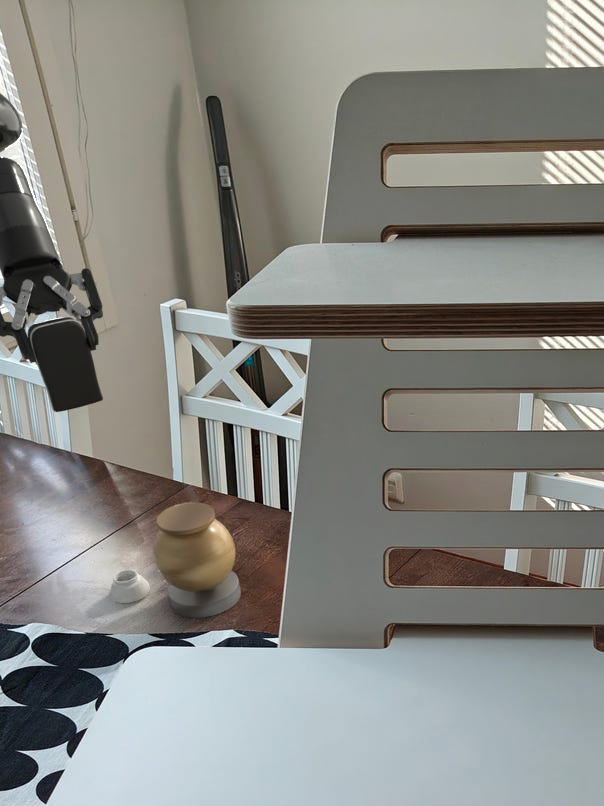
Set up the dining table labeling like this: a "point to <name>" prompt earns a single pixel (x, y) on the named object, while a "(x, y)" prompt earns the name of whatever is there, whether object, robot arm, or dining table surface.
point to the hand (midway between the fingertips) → (63, 353)
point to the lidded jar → (196, 560)
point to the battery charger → (65, 363)
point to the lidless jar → (128, 587)
